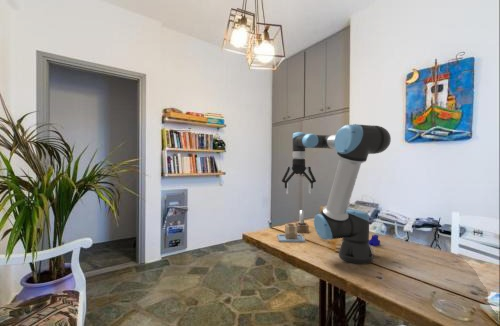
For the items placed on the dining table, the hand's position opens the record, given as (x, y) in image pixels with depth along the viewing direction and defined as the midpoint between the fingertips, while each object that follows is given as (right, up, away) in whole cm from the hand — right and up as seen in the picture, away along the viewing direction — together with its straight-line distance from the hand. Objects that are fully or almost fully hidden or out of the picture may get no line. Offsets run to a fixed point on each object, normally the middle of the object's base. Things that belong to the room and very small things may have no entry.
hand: (298, 194), depth 144 cm
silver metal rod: (+5, -27, +13) cm, 30 cm away
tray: (-5, -27, -2) cm, 27 cm away
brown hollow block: (+5, -27, +13) cm, 30 cm away
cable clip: (+38, -27, -7) cm, 47 cm away
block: (-5, -26, -2) cm, 27 cm away
